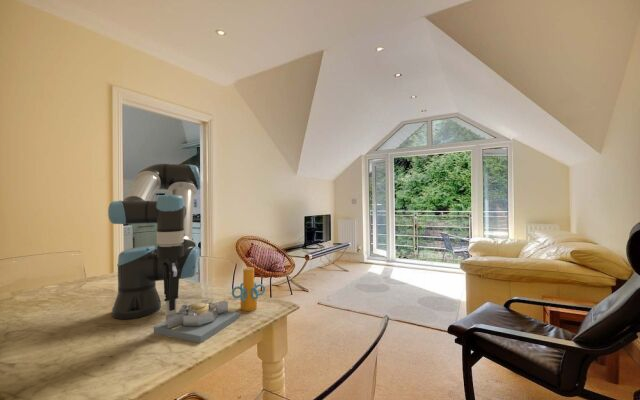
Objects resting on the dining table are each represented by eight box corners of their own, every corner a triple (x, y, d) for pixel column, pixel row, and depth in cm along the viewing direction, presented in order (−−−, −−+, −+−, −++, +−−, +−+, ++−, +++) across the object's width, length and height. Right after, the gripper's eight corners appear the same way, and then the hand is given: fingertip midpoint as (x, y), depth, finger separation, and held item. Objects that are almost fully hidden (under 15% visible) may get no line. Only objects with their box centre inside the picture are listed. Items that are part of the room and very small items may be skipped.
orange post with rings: (254, 315, 101) (254, 273, 101) (227, 313, 103) (227, 271, 103) (268, 303, 113) (268, 265, 113) (243, 301, 115) (243, 264, 115)
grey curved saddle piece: (172, 333, 83) (172, 319, 83) (161, 321, 91) (161, 308, 91) (234, 314, 96) (234, 302, 96) (219, 305, 104) (219, 294, 104)
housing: (153, 333, 88) (153, 311, 88) (197, 311, 105) (197, 293, 105) (200, 343, 82) (200, 320, 82) (238, 318, 99) (238, 299, 99)
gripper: (189, 246, 87) (189, 323, 88) (178, 240, 97) (179, 310, 98) (161, 248, 83) (161, 330, 83) (153, 242, 93) (153, 315, 93)
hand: (171, 319), depth 90 cm, fingers closed
